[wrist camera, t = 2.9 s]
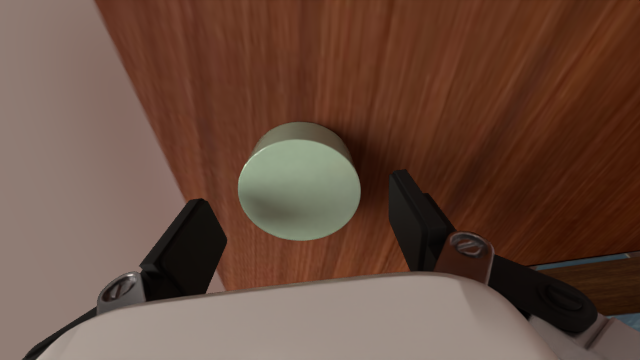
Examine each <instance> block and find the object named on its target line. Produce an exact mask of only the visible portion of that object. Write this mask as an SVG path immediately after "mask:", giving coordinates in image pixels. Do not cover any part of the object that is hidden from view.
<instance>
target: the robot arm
mask: <svg viewBox="0 0 640 360" xmlns="http://www.w3.org/2000/svg"><path fill="white" fill-rule="evenodd" d="M389 221H390V224H391V226H392V229H393V231H394V233H395V236H396V238H397V240H398V243H399V245H400V248H401V250H402V252H403V255H404V257H405V259H406V262H407V264H408V267H409V269H410V271H411V272H396V273H385V274H375V275H364V276H355V277H346V278H337V279H328V280H319V281H310V282H301V283H292V284H284V285H275V286H267V287H258V288H250V289H241V290H233V291H225V292H217V293H209V294H205V293H206V291H207V289H208V286H209V283H210V282H211V279H212V277H213V275H214V272H215V270H216V267H217V265H218V263H219V260H220V258H221V256H222V253H223V251H224V249H225V246H226V244H227V237H226V235H225V233H224V231H223V230H222V228H221V226H220V224H219V222H218V220H217V218H216V216H215V214H214V212H213V210H212V209H211V207H210V205H209V203H208V201H205V200H204V199H202V198H200V199H193V200H190V201H188V203H187V204H186V205H185V207H184V208H183V209H182V211H181V212H180V213H179V215H178V216H177V217H176V218H175V220H174V221H173V222H172V224H171V225H170V226H169V227H168V229H167V230H166V232H165V233H164V234H163V235H162V237H161V238H160V239H159V241H158V242H157V243H156V244H155V246H154V247H153V248H152V250H151V251H150V252H149V254H148V255H147V256H146V258H145V259H144V260H143V261H142V263H141V264H140V265H139V266H140V267H141V268H142V269H143V270H142V271H141V273H138V272H129V273H126V274H123V275H121V276H119V277H118V278H116V279H115V280H113V281H112V282H110V283H109V284H108V285H107V286H106V287H105V288H104V289H103V290H102V291H101V293H100V295H99V296H98V300H97V306H96V307H95V308H93V309H92V310H90V311H89V312H87V313H86V314H84V315H82V316H81V317H79V318H78V319H76V320H74V321H73V322H71V323H70V324H68V325H67V326H65V327H63V328H62V329H60V330H59V331H57V332H56V333H54V334H52V335H51V336H49V337H48V338H46V339H45V340H43V341H42V342H40V343H39V344H37V345H36V346H34V347H33V348H32V349H31V350H30V351H29V352H28V353H27V355H26V356H25V357H24V358H23V359H22V360H559V359H560V360H640V332H639V331H637V330H635V329H633V328H632V327H630V326H628V325H627V324H625V323H623V322H622V321H620V320H618V319H616V318H615V317H613V316H612V317H611V318H610V319H608V318H607V317H605V316H603V315H602V314H600V313H598V312H597V309H596V307H595V305H594V304H593V303H592V301H591V300H590V299H589V298H588V297H587V296H586V295H585V294H584V293H582V292H581V291H579V290H578V289H576V288H575V287H573V286H571V285H569V284H567V283H565V282H563V281H560V280H558V279H555V278H553V277H550V276H548V275H545V274H543V273H540V272H538V271H535V270H533V269H530V268H528V267H525V266H523V265H520V264H518V263H515V262H513V261H510V260H508V259H505V258H503V257H500V256H498V255H495V254H494V248H493V246H492V244H491V243H490V242H489V241H488V240H487V239H485V238H484V237H482V236H481V235H479V234H476V233H474V232H469V231H457V230H456V229H455V228H454V226H453V225H452V224H451V222H450V221H449V220H448V218H447V217H446V216H445V214H444V213H443V212H442V210H441V209H440V208H439V207H438V205H437V204H436V203H435V201H434V200H433V199H432V197H431V196H430V195H429V194H428V193H422V191H421V190H420V188H419V187H418V186H417V184H416V183H415V182H414V180H413V179H412V177H411V176H410V175H409V173H408V172H407V170H406V169H403V170H396V171H393V174H390V175H389ZM558 358H559V359H558Z"/></svg>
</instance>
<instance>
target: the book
mask: <svg viewBox="0 0 640 360" xmlns="http://www.w3.org/2000/svg"><path fill="white" fill-rule="evenodd" d="M528 268H530V269H533V270H535V271H538V272H540V273H543V274H545V275H548V276H550V277H553V278H555V279H558V280H560V281H563V282H565V283H567V284H569V285H571V286H573V287H575V288H576V289H578V290H579V291H581V292H582V293H584V294H585V295H586V296H587V297H588V298H589V299H590V300H591V301H592V303H593V304H594V305H595V307H596V309H597V312H598V313H600V314H602V315H603V316H605V317H607V318H608V319H610V318H611V317H612V316H613V317H615V318H616V319H618V320H620V321H622V322H623V323H625V324H627V325H628V326H630V327H632V328H633V329H635V330H637V331H639V332H640V251H637V252H630V253H623V254H615V255H608V256H601V257H593V258H586V259H579V260H572V261H565V262H558V263H551V264H544V265H537V266H530V267H528ZM558 359H559V358H558ZM559 360H560V359H559Z"/></svg>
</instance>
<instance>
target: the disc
mask: <svg viewBox="0 0 640 360" xmlns="http://www.w3.org/2000/svg"><path fill="white" fill-rule="evenodd" d="M238 195H239V200H240V203H241V206H242V208H243V210H244V212H245V213H246V215H247V216H248V217H249V218H250V220H251V221H252V222H253V223H254V224H256V225H257V226H258V227H259V228H261V229H262V230H264V231H266V232H267V233H269V234H272V235H274V236H277V237H280V238H283V239H288V240H302V241H304V240H313V239H318V238H322V237H325V236H327V235H330V234H332V233H334V232H336V231H337V230H339V229H340V228H342V227H343V226H344V225H345V224H346V223H347V222H348V221H349V220H350V219H351V218H352V216H353V215H354V213H355V211H356V209H357V207H358V204H359V201H360V196H361V186H360V181H359V177H358V174H357V171H356V169H355V166H354V163H353V160H352V157H351V154H350V152H349V150H348V148H347V146H346V145H345V143H344V142H343V141H342V140H341V139H340V137H339V136H337V135H336V134H335V133H334V132H332V131H330V130H329V129H327V128H325V127H323V126H320V125H317V124H314V123H308V122H292V123H287V124H283V125H280V126H278V127H276V128H274V129H272V130H270V131H269V132H267V133H266V134H265V135H264V136H263V137H262V138H261V139H260V140H259V141H258V143H257V144H256V146H255V148H254V149H253V151H252V153H251V155H250V157H249V158H248V160H247V162H246V164H245V166H244V168H243V170H242V171H241V174H240V177H239V182H238Z"/></svg>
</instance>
